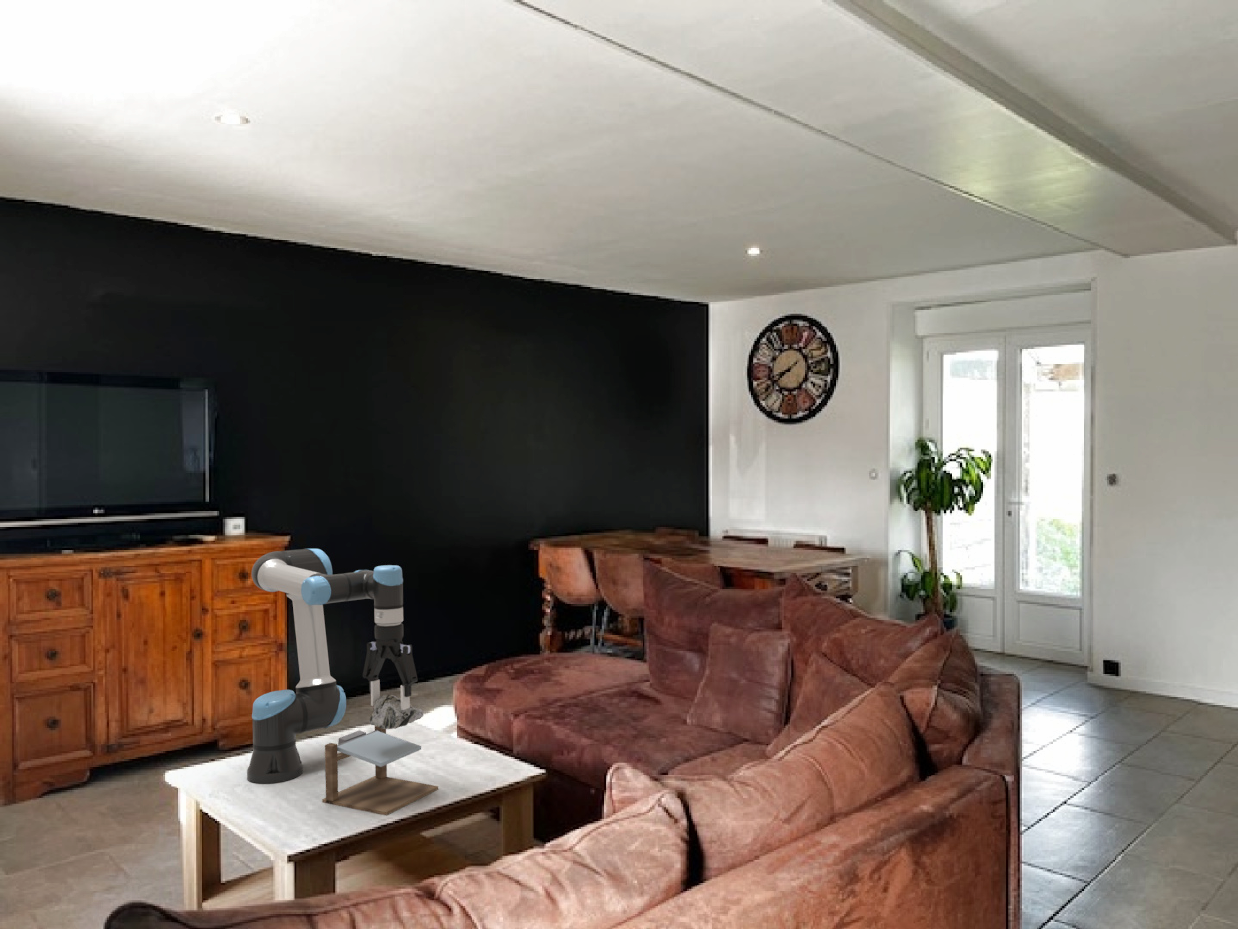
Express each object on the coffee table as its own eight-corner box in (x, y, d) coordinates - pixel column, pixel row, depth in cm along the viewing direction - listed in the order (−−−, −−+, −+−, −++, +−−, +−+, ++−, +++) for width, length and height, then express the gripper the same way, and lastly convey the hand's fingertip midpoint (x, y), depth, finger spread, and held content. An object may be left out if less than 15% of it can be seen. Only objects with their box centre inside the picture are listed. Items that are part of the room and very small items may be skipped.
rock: (394, 731, 243) (394, 703, 243) (362, 727, 247) (362, 700, 247) (426, 718, 257) (426, 692, 257) (395, 714, 261) (395, 689, 261)
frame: (321, 802, 248) (320, 744, 248) (375, 777, 267) (374, 724, 267) (386, 815, 238) (385, 755, 238) (438, 789, 256) (437, 733, 256)
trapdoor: (326, 749, 250) (327, 742, 250) (369, 732, 265) (370, 726, 265) (380, 768, 241) (380, 762, 241) (421, 750, 256) (422, 744, 256)
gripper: (347, 623, 252) (349, 705, 252) (412, 628, 242) (413, 714, 242) (366, 618, 259) (368, 699, 259) (430, 624, 249) (432, 707, 249)
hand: (390, 706), depth 251 cm, fingers closed on rock, 10 cm apart
